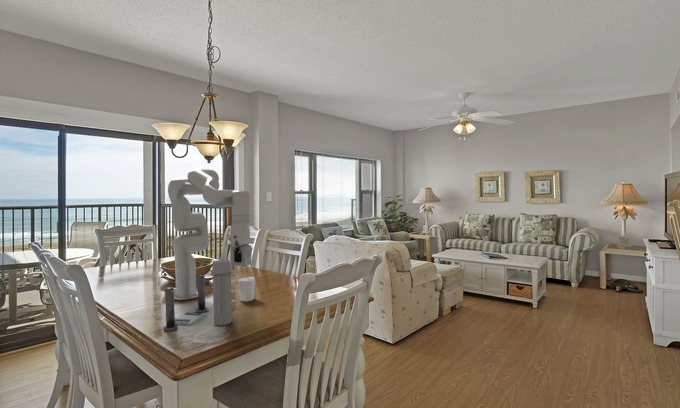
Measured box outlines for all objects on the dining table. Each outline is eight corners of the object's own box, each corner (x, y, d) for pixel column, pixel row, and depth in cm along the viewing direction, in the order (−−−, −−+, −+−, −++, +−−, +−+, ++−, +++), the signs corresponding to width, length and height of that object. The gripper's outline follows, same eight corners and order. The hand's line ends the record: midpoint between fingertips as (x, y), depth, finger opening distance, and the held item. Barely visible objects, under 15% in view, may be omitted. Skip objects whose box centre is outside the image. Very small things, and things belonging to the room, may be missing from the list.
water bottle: (215, 320, 147) (213, 259, 146) (234, 319, 147) (233, 259, 147) (209, 329, 138) (207, 264, 137) (230, 328, 138) (228, 263, 138)
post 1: (160, 331, 136) (159, 289, 136) (169, 326, 141) (167, 286, 140) (172, 332, 135) (170, 290, 135) (180, 327, 140) (179, 286, 140)
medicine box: (251, 264, 157) (251, 244, 157) (245, 266, 153) (245, 246, 152) (236, 263, 160) (236, 243, 159) (230, 265, 155) (230, 245, 155)
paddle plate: (166, 323, 144) (166, 320, 144) (183, 314, 155) (183, 311, 155) (191, 325, 142) (191, 321, 142) (206, 315, 153) (206, 312, 153)
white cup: (250, 302, 171) (250, 281, 170) (235, 301, 172) (235, 280, 172) (257, 297, 178) (257, 277, 178) (243, 296, 180) (242, 277, 180)
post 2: (193, 312, 157) (192, 276, 156) (200, 309, 162) (199, 274, 161) (203, 313, 156) (202, 276, 155) (210, 309, 161) (209, 274, 160)
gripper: (241, 217, 164) (242, 256, 165) (222, 220, 148) (222, 264, 148) (257, 217, 163) (257, 257, 164) (239, 221, 146) (239, 265, 147)
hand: (240, 260), depth 156 cm, fingers closed on medicine box, 4 cm apart
